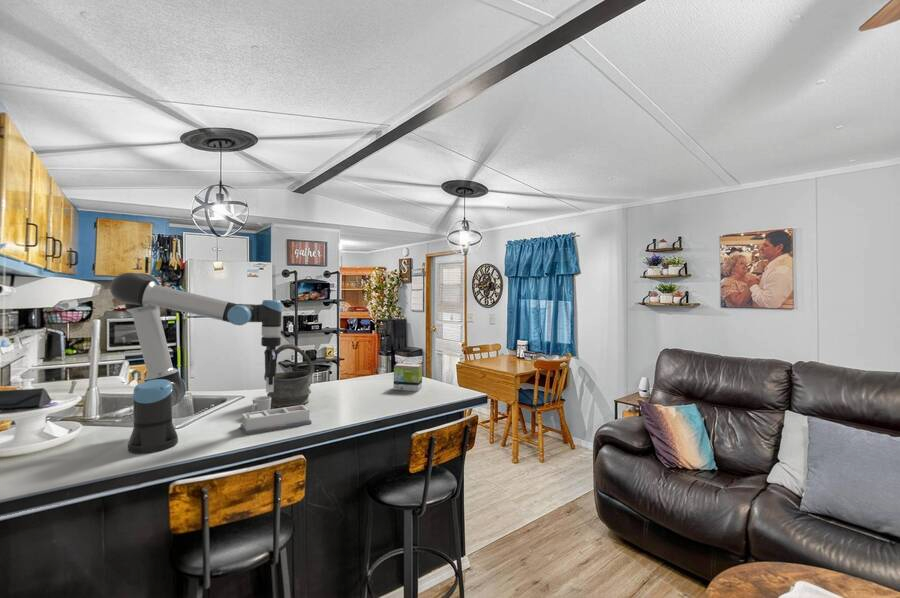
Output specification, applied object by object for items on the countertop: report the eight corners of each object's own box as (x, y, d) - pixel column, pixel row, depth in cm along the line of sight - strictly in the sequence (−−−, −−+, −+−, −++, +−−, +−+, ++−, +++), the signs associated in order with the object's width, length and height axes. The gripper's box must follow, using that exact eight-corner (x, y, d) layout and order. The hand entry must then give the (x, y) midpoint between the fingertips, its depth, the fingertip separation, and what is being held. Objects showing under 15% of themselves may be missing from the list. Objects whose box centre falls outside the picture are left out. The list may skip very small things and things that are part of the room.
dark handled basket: (274, 397, 228) (274, 342, 227) (318, 397, 228) (318, 342, 228) (257, 409, 206) (257, 347, 205) (305, 409, 206) (305, 347, 206)
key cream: (250, 422, 173) (250, 417, 173) (248, 419, 177) (248, 414, 177) (263, 420, 176) (263, 415, 176) (261, 417, 180) (261, 413, 180)
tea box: (393, 390, 246) (393, 365, 246) (398, 386, 256) (398, 362, 256) (418, 391, 244) (418, 366, 244) (422, 387, 254) (422, 363, 254)
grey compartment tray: (245, 435, 169) (245, 420, 169) (240, 427, 179) (240, 413, 178) (311, 423, 184) (311, 410, 184) (303, 416, 194) (303, 404, 193)
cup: (260, 420, 188) (260, 402, 188) (244, 419, 190) (244, 401, 189) (274, 413, 199) (274, 396, 198) (259, 412, 200) (259, 395, 200)
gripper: (284, 337, 177) (282, 394, 177) (276, 334, 187) (275, 388, 188) (265, 338, 172) (263, 396, 173) (258, 335, 183) (257, 389, 183)
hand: (269, 391), depth 180 cm, fingers closed
